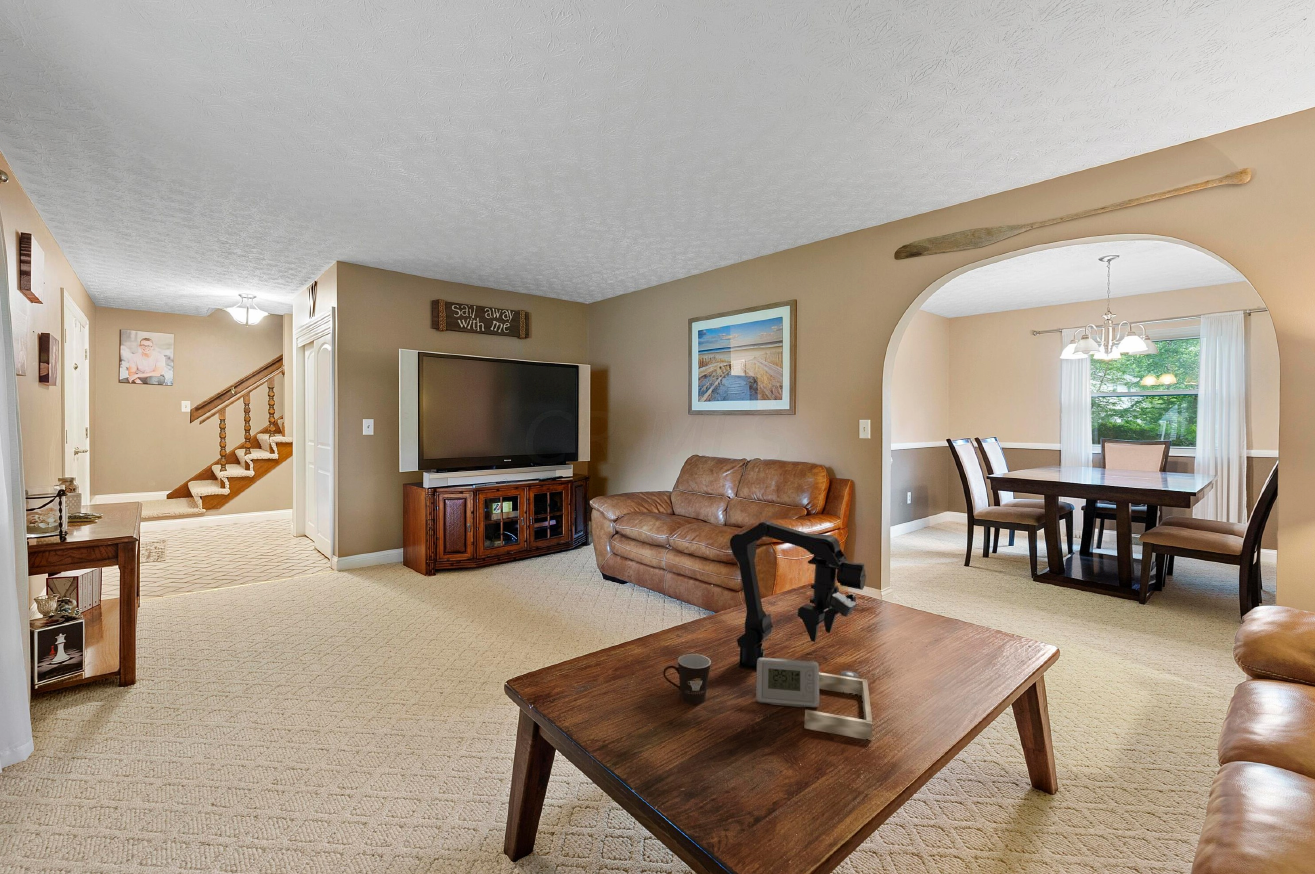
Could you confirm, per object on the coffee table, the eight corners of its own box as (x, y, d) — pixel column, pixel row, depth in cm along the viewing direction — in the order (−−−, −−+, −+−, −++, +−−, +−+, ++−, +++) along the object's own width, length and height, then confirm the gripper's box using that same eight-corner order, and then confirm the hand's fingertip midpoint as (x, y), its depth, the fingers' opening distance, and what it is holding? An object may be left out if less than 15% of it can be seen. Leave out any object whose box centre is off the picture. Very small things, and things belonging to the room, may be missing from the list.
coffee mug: (712, 694, 156) (714, 657, 156) (704, 709, 148) (706, 670, 148) (671, 685, 160) (672, 649, 160) (660, 700, 152) (662, 662, 152)
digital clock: (753, 703, 152) (755, 663, 152) (758, 688, 161) (760, 649, 160) (818, 715, 147) (820, 674, 147) (819, 698, 156) (821, 659, 155)
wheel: (840, 684, 165) (840, 676, 165) (839, 676, 170) (840, 668, 170) (859, 687, 163) (859, 679, 163) (858, 679, 168) (858, 671, 168)
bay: (804, 728, 141) (805, 711, 141) (808, 684, 164) (809, 670, 163) (871, 740, 137) (872, 723, 137) (866, 694, 159) (867, 679, 159)
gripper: (838, 596, 150) (833, 656, 151) (866, 582, 164) (862, 636, 165) (798, 585, 158) (794, 642, 159) (829, 572, 172) (825, 625, 173)
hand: (820, 636), depth 164 cm, fingers open, 9 cm apart
